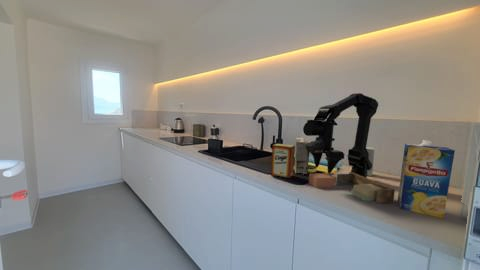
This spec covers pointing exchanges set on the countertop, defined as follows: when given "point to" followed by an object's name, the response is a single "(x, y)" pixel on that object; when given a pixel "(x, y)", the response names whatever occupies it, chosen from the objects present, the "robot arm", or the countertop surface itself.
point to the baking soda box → (282, 160)
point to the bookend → (344, 179)
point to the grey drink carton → (301, 158)
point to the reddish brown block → (321, 180)
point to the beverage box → (425, 179)
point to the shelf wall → (382, 194)
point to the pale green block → (365, 192)
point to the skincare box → (371, 157)
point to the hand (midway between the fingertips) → (322, 169)
